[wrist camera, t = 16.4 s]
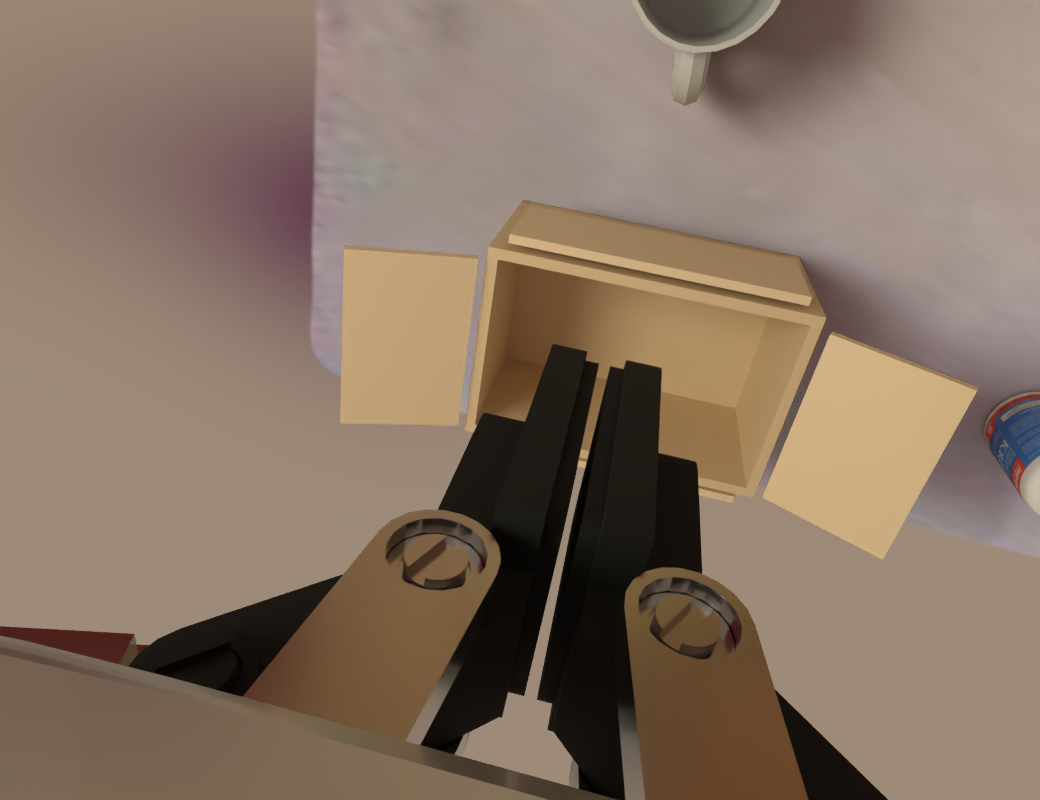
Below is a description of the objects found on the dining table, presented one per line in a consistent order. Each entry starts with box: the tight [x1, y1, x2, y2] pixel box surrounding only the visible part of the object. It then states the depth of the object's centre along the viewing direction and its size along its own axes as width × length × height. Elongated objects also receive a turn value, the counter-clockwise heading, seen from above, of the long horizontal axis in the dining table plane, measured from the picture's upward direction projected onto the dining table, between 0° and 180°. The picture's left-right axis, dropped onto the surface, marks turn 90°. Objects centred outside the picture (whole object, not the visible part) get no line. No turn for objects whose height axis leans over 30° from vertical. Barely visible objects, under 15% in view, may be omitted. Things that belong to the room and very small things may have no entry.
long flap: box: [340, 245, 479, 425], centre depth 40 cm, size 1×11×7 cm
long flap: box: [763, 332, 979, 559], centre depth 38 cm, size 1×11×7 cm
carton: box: [465, 200, 826, 503], centre depth 45 cm, size 18×14×10 cm
